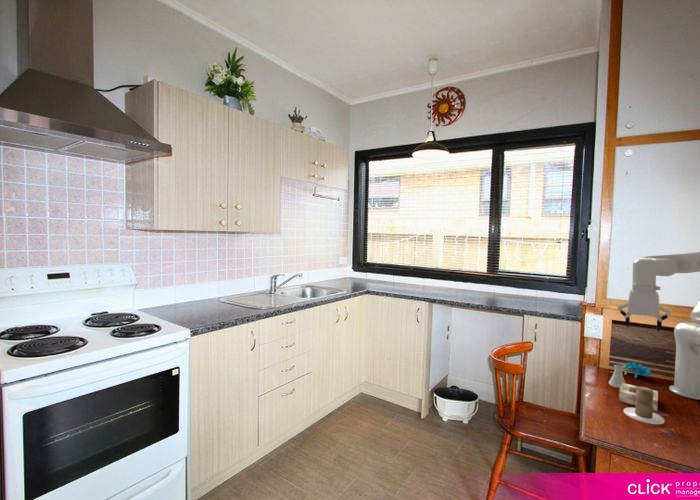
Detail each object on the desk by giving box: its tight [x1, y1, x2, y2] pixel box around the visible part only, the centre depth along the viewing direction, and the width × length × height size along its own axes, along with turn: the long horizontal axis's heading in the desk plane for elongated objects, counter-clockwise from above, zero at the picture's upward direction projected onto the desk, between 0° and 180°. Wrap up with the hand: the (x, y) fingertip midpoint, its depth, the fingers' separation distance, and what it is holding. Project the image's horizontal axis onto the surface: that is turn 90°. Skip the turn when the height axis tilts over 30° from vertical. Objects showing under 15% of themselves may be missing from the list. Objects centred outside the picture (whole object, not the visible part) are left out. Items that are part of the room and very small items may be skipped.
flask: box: [608, 364, 627, 389], centre depth 161 cm, size 7×7×10 cm
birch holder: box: [618, 382, 659, 412], centre depth 145 cm, size 12×12×5 cm
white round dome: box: [623, 407, 666, 425], centre depth 133 cm, size 12×12×1 cm
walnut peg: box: [634, 386, 654, 419], centre depth 133 cm, size 5×5×10 cm
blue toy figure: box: [622, 362, 652, 379], centre depth 173 cm, size 11×6×10 cm
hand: (642, 328), depth 148 cm, fingers open, 9 cm apart
